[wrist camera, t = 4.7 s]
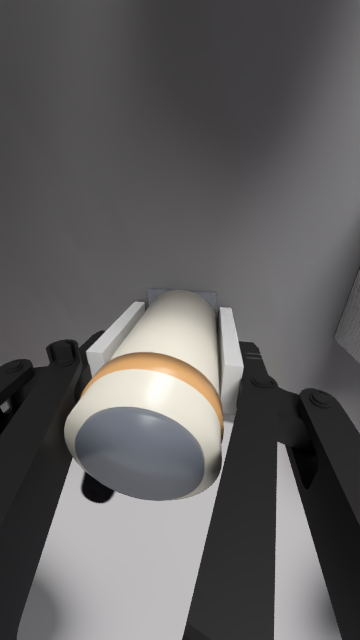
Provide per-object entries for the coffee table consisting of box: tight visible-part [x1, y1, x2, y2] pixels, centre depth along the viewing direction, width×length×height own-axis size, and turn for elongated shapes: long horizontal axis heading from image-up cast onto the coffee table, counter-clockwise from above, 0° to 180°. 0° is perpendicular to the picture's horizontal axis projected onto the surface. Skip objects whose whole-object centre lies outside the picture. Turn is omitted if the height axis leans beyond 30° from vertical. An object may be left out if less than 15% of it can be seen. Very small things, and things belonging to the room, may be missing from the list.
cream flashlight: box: [64, 288, 224, 501], centre depth 11 cm, size 5×5×10 cm
